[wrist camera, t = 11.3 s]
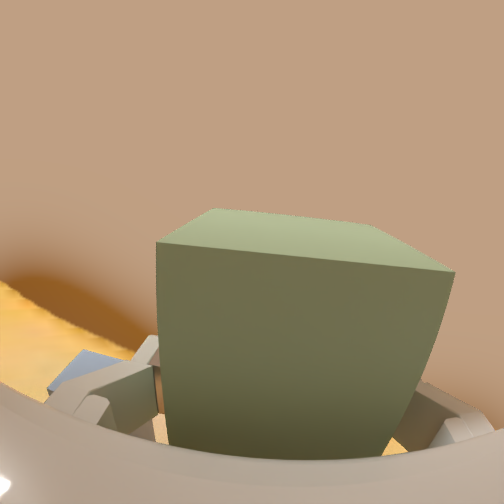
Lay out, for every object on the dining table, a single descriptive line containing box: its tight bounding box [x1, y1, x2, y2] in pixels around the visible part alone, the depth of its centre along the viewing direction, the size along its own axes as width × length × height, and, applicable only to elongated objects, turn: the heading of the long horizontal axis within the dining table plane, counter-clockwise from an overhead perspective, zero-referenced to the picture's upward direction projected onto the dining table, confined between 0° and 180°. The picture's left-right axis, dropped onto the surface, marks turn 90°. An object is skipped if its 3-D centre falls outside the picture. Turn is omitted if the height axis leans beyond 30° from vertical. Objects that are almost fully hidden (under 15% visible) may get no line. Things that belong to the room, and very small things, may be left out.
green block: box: [156, 208, 455, 460], centre depth 8 cm, size 5×5×10 cm
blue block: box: [47, 349, 156, 442], centre depth 17 cm, size 5×5×10 cm
